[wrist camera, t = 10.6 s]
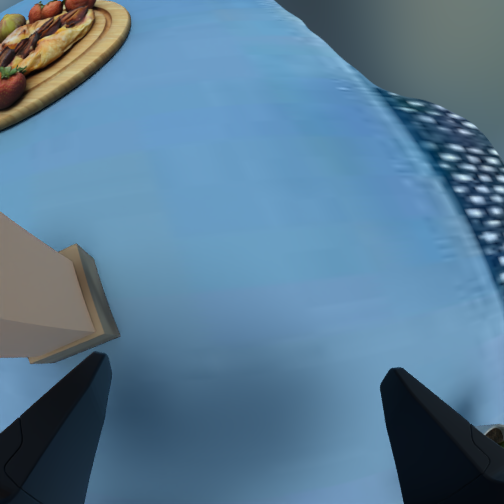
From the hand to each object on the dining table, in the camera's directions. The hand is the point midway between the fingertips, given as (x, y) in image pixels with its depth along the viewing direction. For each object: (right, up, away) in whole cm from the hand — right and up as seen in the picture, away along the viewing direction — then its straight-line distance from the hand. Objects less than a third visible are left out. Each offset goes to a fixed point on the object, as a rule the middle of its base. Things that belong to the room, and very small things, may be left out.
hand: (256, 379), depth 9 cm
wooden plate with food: (-33, +32, +21) cm, 50 cm away
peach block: (-13, 0, +8) cm, 16 cm away
